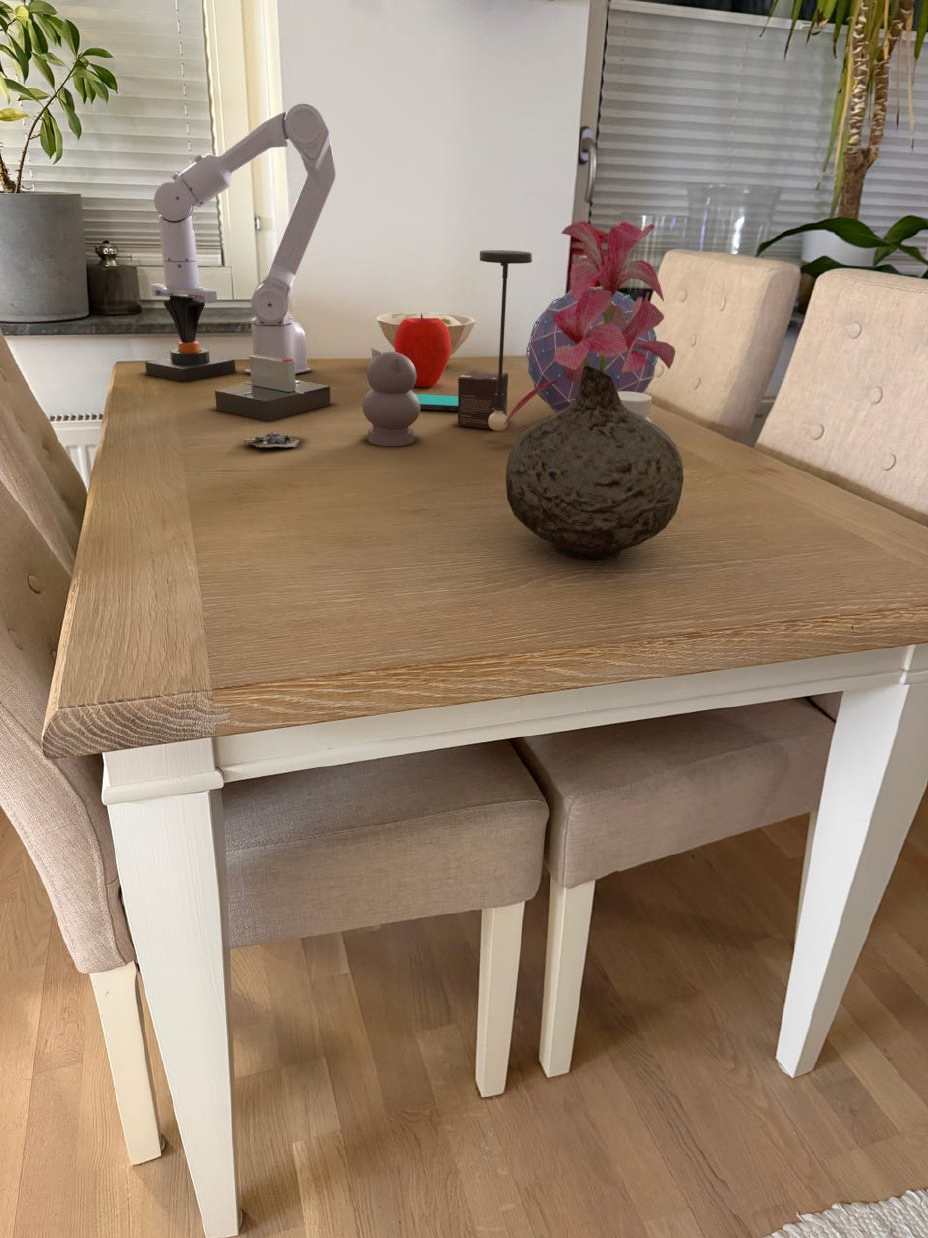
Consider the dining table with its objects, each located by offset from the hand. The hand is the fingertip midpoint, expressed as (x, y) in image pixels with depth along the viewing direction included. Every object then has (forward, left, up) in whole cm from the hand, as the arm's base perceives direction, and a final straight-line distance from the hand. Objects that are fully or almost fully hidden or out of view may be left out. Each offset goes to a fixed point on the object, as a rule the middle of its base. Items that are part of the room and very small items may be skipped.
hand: (188, 341), depth 160 cm
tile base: (+10, +30, -6) cm, 32 cm away
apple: (-19, +38, -6) cm, 43 cm away
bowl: (-34, +28, -6) cm, 44 cm away
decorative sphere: (-15, +72, -6) cm, 74 cm away
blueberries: (+26, +45, -6) cm, 52 cm away
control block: (0, 0, -6) cm, 6 cm away
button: (0, 0, -2) cm, 2 cm away
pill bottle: (+15, +91, -6) cm, 92 cm away
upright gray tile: (+10, +30, -2) cm, 32 cm away
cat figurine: (+14, +56, -6) cm, 58 cm away
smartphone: (-8, +50, -6) cm, 51 cm away
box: (-2, +61, -6) cm, 61 cm away
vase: (+35, +96, -6) cm, 102 cm away
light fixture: (+7, +69, -6) cm, 70 cm away
